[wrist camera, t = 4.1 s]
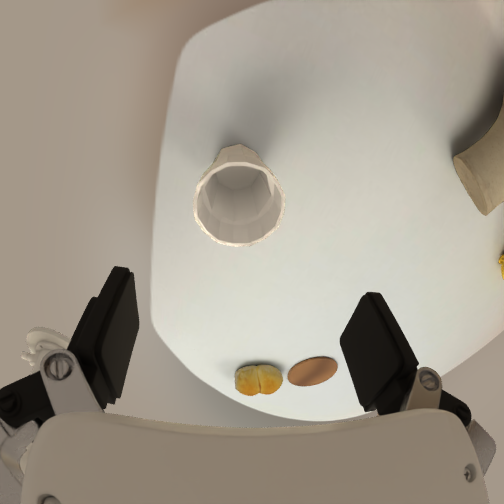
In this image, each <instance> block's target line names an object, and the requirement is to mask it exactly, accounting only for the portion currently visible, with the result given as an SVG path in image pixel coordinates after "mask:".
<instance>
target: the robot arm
mask: <svg viewBox="0 0 504 504" xmlns="http://www.w3.org/2000/svg"><path fill="white" fill-rule="evenodd" d="M138 330H139V315H138V308H137V300H136V291H135V281H134V274H133V273H132V272H130V271H129V269H128V268H125V267H118V266H115V267H114V268H113V269H112V271H111V273H110V275H109V277H108V279H107V280H106V282H105V284H104V286H103V288H102V290H101V292H100V294H99V296H98V297H92V298H91V300H90V301H89V303H88V305H87V307H86V309H85V311H84V313H83V315H82V317H81V319H80V321H79V323H78V325H77V328H76V330H75V332H74V334H73V336H72V338H71V341H70V343H69V345H68V347H67V350H66V349H64V348H63V347H61V346H59V345H57V344H55V343H52V342H48V341H40V342H38V343H37V345H36V347H35V352H36V353H35V354H34V353H33V354H30V353H27V352H24V351H23V352H22V354H21V357H22V359H24V360H27V361H30V366H33V369H32V371H31V374H30V375H29V376H27V377H25V378H22V379H20V380H18V381H16V382H14V383H11V384H9V385H7V386H5V387H3V388H2V389H0V504H489V499H488V494H487V489H486V485H485V481H484V478H483V477H484V475H485V473H486V471H487V469H488V467H489V465H490V463H491V461H492V459H493V457H494V454H495V451H496V444H495V441H494V440H493V438H492V437H491V436H490V435H489V434H488V433H487V432H486V431H485V430H484V429H483V428H482V427H481V426H480V425H479V424H478V423H477V422H476V421H475V419H473V420H471V412H470V409H469V407H468V406H467V405H466V404H465V403H464V402H462V401H461V400H459V399H457V398H455V397H454V396H452V395H451V394H449V393H447V392H445V391H444V390H442V381H441V378H440V376H439V375H438V373H437V372H436V371H434V370H433V369H431V368H429V367H422V368H420V369H419V370H418V369H417V366H418V364H419V363H418V361H417V359H416V357H415V355H414V353H413V351H412V349H411V347H410V345H409V343H408V341H407V339H406V337H405V336H404V334H403V332H402V330H401V328H400V326H399V325H398V323H397V321H396V319H395V317H394V316H393V314H392V312H391V310H390V309H389V307H388V305H387V303H386V302H385V300H384V298H383V296H382V295H381V294H380V293H376V292H367V293H366V294H365V295H363V296H362V297H361V299H360V301H359V303H358V305H357V307H356V309H355V311H354V313H353V315H352V317H351V319H350V320H349V322H348V324H347V326H346V328H345V330H344V331H343V333H342V335H341V337H340V346H341V348H342V351H343V354H344V357H345V360H346V363H347V366H348V369H349V372H350V375H351V378H352V381H353V384H354V387H355V390H356V393H357V396H358V400H359V403H360V405H361V406H363V408H364V411H365V412H369V411H375V410H376V409H377V411H378V414H377V416H376V417H371V418H366V419H360V420H353V421H346V422H339V423H331V424H320V425H310V426H296V427H271V428H241V427H215V426H201V425H190V424H181V423H171V422H163V421H156V420H149V419H143V418H136V417H130V416H124V415H118V414H110V413H105V412H104V410H103V409H105V408H106V406H107V403H110V404H115V401H116V398H120V397H121V394H122V390H123V386H124V381H125V377H126V373H127V369H128V366H129V362H130V358H131V354H132V351H133V347H134V344H135V340H136V336H137V333H138Z"/></svg>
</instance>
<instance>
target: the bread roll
mask: <svg viewBox="0 0 504 504" xmlns="http://www.w3.org/2000/svg"><path fill="white" fill-rule="evenodd" d="M282 382H283V377H282V374H281V372H280V371H279V370H278V369H277V368H275V367H273V366H271V365H258V366H254V365H250V366H246V367H243V368H241V369H239V370H238V371H237V372H236V373H235V387H236V389H237V390H238V391H239V392H240V393H242V394H244V395H248V396H253V395H256V394H258V393H262V394H272V393H274V392H275V391H277V390H278V389H279V388H280V386H281V385H282Z"/></svg>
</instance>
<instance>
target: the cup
mask: <svg viewBox="0 0 504 504" xmlns="http://www.w3.org/2000/svg"><path fill="white" fill-rule="evenodd" d="M193 209H194V218H195V220H196V221H197V223H198V224H199V226H200V227H201V229H202V230H203V232H204V233H205V234H207V235H208V236H209V237H210V238H212V239H213V240H214V241H215V242H217V243H221V244H225V245H229V246H251V245H253V244H255V243H258V242H260V241H262V240H264V239H266V238H267V237H268V236H269V235H270V234H272V233H273V232H274V231H275V230H276V229H277V228H278V227H279V224H280V222H281V220H282V217H283V215H284V210H285V194H284V192H283V190H282V188H281V186H280V184H279V182H278V180H277V179H276V177H275V176H274V174H273V173H272V171H271V170H270V169H269V168H268V167H267V166H266V165H265V164H264V163H263V162H262V160H261V159H260V157H259V156H258V154H257V153H256V152H254V151H252V150H251V149H249V148H247V147H246V146H244V145H242V144H237V145H233V146H229V147H225V148H222V149H221V151H220V152H219V154H218V156H217V157H216V159H215V161H214V162H213V164H212V165H211V166H210V167H209V168H208V169H207V170H206V171H205V172H204V173H203V175H202V177H201V179H200V181H199V183H198V184H197V188H196V191H195V195H194V199H193Z"/></svg>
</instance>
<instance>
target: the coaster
mask: <svg viewBox="0 0 504 504" xmlns="http://www.w3.org/2000/svg"><path fill="white" fill-rule="evenodd" d="M336 371H337V363H336V362H335V361H334V360H333V359H331V358H327V357H316V358H311V359H307V360H304V361H302V362H300V363H298V364H296V365H295V366H293V367H292V368H291V369H290V371H289V372H288V380H289V382H290V383H292V384H294V385H297V386H312V385H316V384H319V383H322V382H324V381H326V380H328V379H329V378H331V377H332V376H333V375H334V374H335V373H336Z"/></svg>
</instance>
